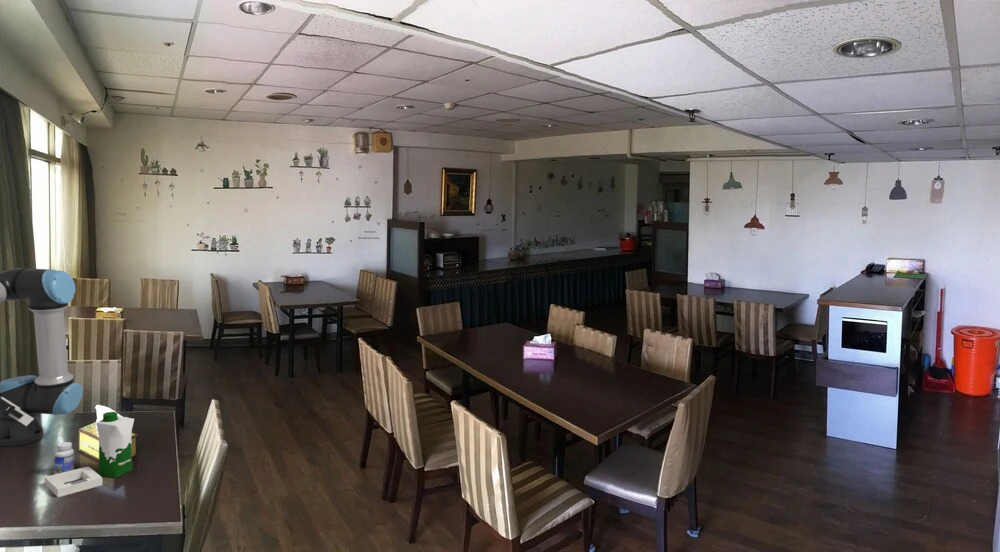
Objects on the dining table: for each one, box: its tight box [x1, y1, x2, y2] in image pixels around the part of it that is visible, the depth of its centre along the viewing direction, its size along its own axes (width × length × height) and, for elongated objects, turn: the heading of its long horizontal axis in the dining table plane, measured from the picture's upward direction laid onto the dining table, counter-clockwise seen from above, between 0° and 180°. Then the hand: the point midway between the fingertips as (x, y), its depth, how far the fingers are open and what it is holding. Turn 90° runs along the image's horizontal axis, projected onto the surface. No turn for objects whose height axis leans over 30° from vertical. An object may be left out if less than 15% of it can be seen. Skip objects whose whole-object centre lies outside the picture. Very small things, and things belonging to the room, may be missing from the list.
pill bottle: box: [53, 441, 75, 475], centre depth 200 cm, size 5×5×10 cm
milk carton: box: [95, 411, 135, 479], centre depth 202 cm, size 9×9×20 cm
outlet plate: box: [44, 466, 103, 498], centre depth 192 cm, size 12×12×3 cm
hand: (23, 416), depth 190 cm, fingers open, 13 cm apart
